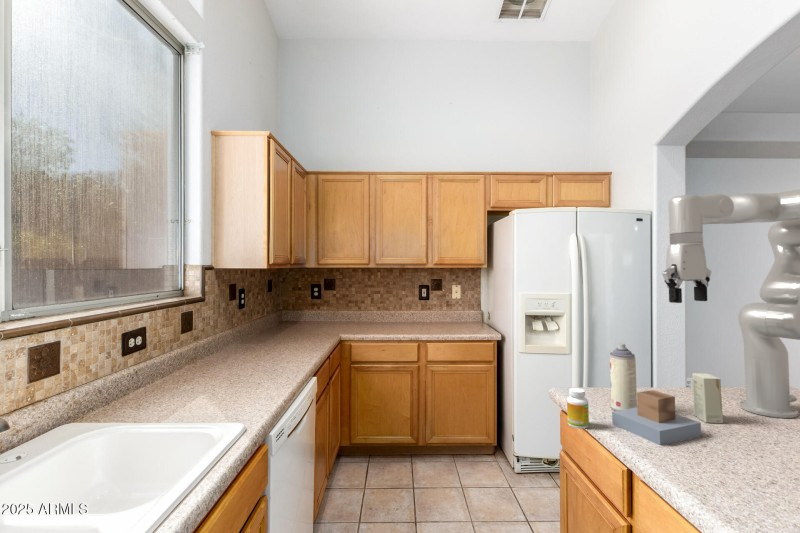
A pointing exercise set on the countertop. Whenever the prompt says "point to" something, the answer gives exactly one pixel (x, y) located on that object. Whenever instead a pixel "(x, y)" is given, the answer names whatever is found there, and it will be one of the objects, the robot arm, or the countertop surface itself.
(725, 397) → the countertop surface
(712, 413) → the skincare box
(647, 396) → the walnut cube
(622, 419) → the slate base block
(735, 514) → the countertop surface
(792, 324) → the robot arm
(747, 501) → the countertop surface
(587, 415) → the supplement bottle
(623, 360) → the aerosol can
